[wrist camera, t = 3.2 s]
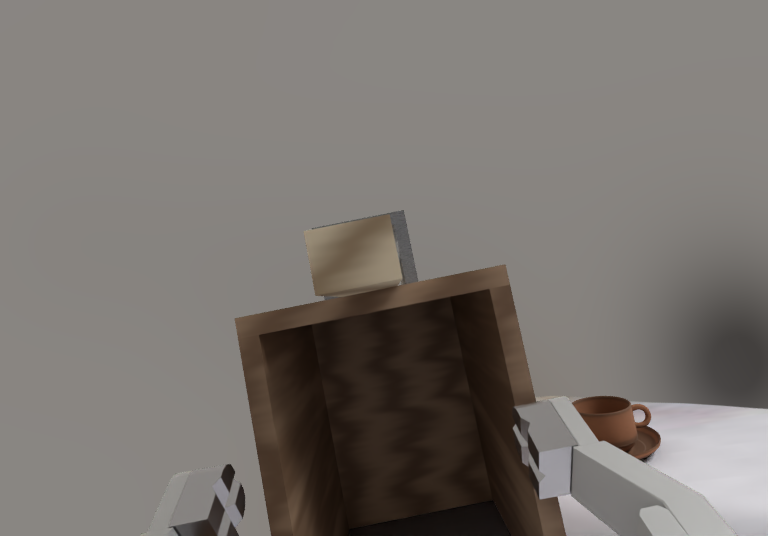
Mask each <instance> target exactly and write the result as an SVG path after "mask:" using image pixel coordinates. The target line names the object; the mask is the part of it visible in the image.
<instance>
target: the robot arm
mask: <svg viewBox="0 0 768 536" xmlns="http://www.w3.org/2000/svg"><path fill="white" fill-rule="evenodd" d="M512 417H513V419H514V422H515V426H514V427H513V437H514V441H515V446H516V449H517V451H518V454H519V456H520V459H521V461H522V463H524V464H525V465H527V466H528V467H529V478H530V480H531V482H532V485H533V487H534V489H535V491H536V493H537V495H538V497H539V499H546V498H551V497H557V496H563V495H569V494H571V496H572V497H573V498H574V499H576V500H577V501H578V502H579V503H581V504H582V505H583V506H584V507H585V508H587V509H588V510H589V511H590V512H592V513H593V514H594V515H595V516H596V517H598V518H599V519H600V520H601V521H603V522H604V523H605V524H606V525H607V526H609V527H610V528H611V529H612V530H614V531H615V532H616V533H617V534H618V535H620V536H738V535H737V534H736V533H735V532H734V531H733V530H732V528H731V527H730V526H729V525H728V524H727V523H726V521H725V520H724V519H723V518H722V517H721V516H720V514H719V513H718V512H717V511H716V510H715V509H714V508H713V506H712V505H711V504H710V503H709V502H708V501H707V499H706V498H705V497H704V496H703V495H702V494H700V493H698V492H696V491H695V490H693V489H691V488H689V487H687V486H686V485H684V484H682V483H680V482H678V481H677V480H675V479H673V478H671V477H669V476H668V475H666V474H664V473H662V472H660V471H658V470H657V469H655V468H653V467H651V466H649V465H648V464H646V463H644V462H642V461H640V460H639V459H637V458H635V457H633V456H631V455H630V454H628V453H626V452H624V451H622V450H620V449H619V448H617V447H615V446H613V445H611V444H610V443H608V442H606V441H598V439H597V438H596V437H595V435H594V434H593V432H592V431H591V430H590V428H589V427H588V425H587V424H586V423H585V421H584V420H583V418H582V417H581V415H580V414H579V413H578V411H577V410H576V408H575V407H574V406H573V404H572V403H571V401H570V400H569V399H568V398H567V397H565V396H562V397H557V398H553V399H548V400H542V401H537V402H533V403H528V404H523V405H519V406H514V407H513V408H512ZM234 474H235V471H234V469H233V467H232V466H231V464H228V465H222V466H216V467H209V468H204V469H198V470H193V471H188V472H183V473H177V474H175V475H174V476H173V477H172V478H171V480H170V482H169V484H168V487H167V489H166V491H165V493H164V495H163V498H162V500H161V502H160V504H159V507H158V509H157V511H156V514H155V516H154V518H153V521H152V523H151V525H150V527H149V530H148V532H146V533H142V534H141V535H140V536H239V535H238V533H237V531H236V529H235V528H236V526H237V525H238V524H239V523H240V521H241V520H242V519H243V515H244V510H245V494H244V489H243V487H242V485H241V483H240V482H238V481H236V480H235V479H233V478H234Z"/></svg>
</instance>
